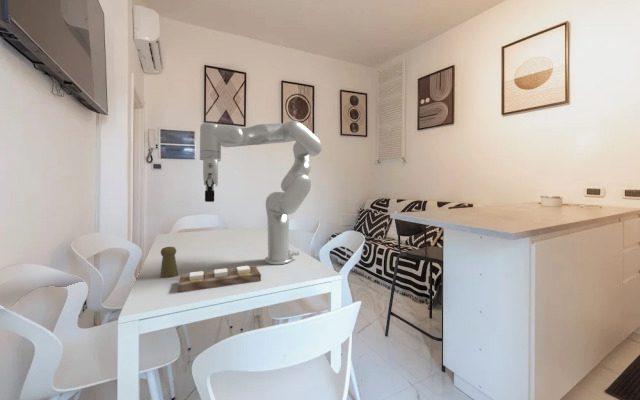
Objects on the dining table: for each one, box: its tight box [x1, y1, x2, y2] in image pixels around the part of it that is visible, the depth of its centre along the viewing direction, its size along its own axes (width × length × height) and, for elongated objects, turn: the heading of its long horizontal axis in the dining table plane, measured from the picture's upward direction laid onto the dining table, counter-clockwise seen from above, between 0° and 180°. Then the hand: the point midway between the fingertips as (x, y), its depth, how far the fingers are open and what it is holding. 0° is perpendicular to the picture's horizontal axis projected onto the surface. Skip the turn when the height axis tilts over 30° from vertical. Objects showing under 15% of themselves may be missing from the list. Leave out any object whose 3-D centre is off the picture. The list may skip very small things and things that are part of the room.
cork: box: [160, 246, 179, 279], centre depth 105 cm, size 6×6×11 cm
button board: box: [177, 265, 262, 293], centre depth 99 cm, size 27×10×3 cm, turn 114°
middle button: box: [213, 267, 228, 278], centre depth 99 cm, size 4×4×2 cm
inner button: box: [236, 265, 251, 275], centre depth 102 cm, size 4×4×2 cm
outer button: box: [189, 270, 204, 281], centre depth 96 cm, size 4×4×2 cm
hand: (209, 200), depth 105 cm, fingers open, 9 cm apart
